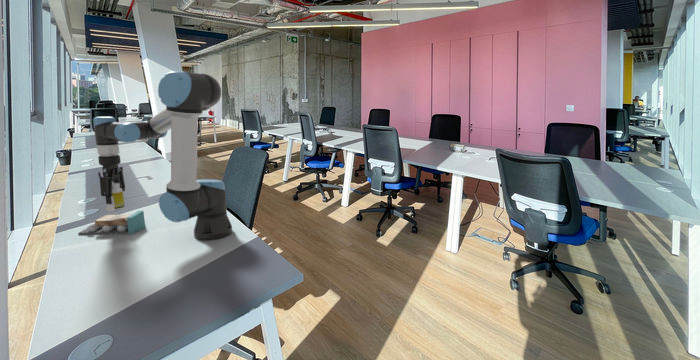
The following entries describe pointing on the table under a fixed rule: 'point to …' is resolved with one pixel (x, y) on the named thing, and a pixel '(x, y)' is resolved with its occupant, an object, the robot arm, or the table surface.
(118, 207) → the pill bottle
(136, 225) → the roller bed
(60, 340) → the table surface
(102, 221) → the slab
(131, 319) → the table surface
